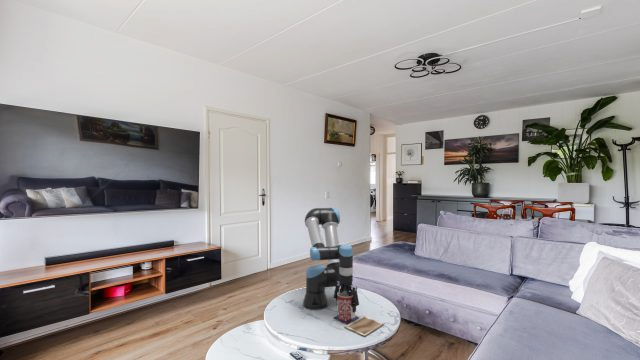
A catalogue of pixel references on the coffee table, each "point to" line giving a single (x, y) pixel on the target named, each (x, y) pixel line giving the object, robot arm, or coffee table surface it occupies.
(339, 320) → the ink pad
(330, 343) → the coffee table surface
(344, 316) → the mug
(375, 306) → the coffee table surface
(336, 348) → the coffee table surface
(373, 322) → the board
